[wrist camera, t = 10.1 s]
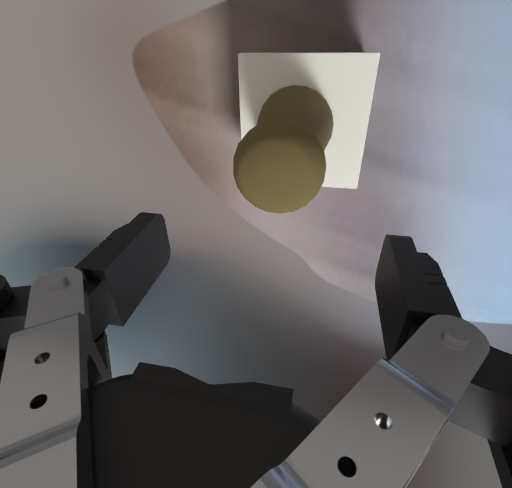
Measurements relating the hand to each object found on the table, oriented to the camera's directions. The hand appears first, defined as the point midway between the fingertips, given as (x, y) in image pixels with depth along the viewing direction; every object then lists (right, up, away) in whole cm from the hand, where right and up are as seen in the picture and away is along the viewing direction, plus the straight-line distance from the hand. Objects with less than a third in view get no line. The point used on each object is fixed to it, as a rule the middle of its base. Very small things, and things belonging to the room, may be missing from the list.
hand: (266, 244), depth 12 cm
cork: (+3, +9, +14) cm, 17 cm away
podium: (+4, +12, +18) cm, 22 cm away
